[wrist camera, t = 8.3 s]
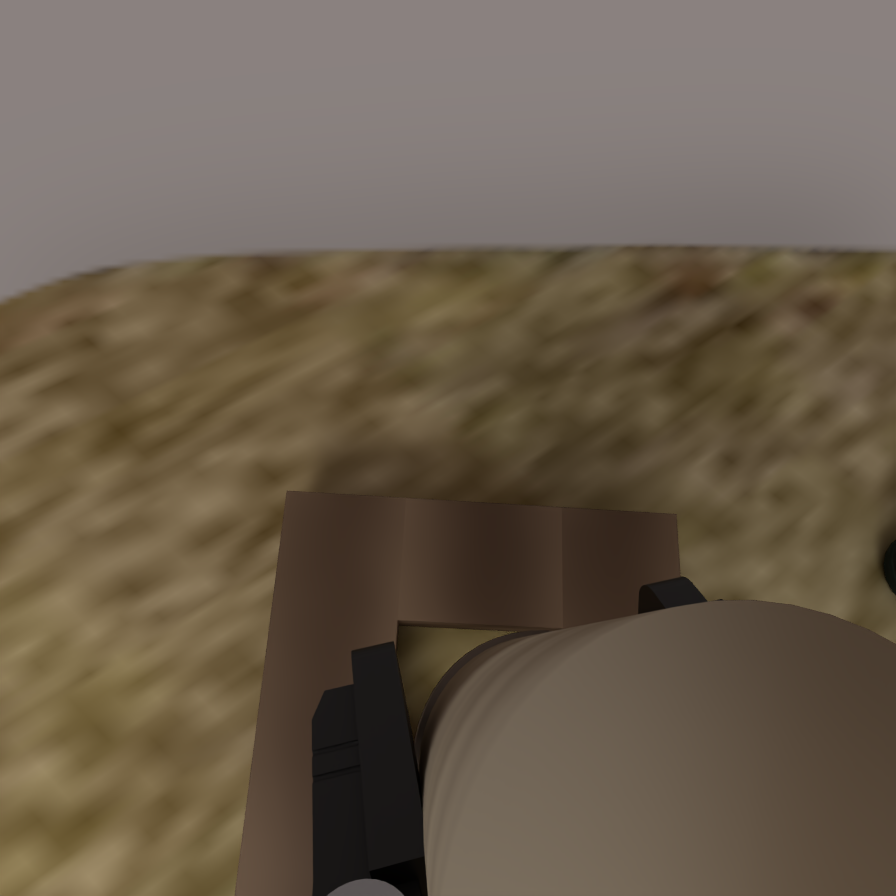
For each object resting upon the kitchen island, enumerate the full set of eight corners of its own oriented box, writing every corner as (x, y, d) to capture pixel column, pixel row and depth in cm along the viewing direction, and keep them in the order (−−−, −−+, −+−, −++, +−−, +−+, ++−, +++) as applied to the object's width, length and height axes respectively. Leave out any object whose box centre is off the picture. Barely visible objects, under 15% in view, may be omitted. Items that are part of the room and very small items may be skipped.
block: (256, 914, 22) (225, 968, 18) (303, 514, 26) (286, 490, 23) (656, 926, 23) (706, 980, 19) (638, 534, 27) (676, 514, 23)
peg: (405, 844, 15) (391, 1509, 3) (417, 633, 16) (438, 568, 5) (605, 851, 15) (1272, 1504, 3) (599, 642, 16) (1051, 601, 5)
